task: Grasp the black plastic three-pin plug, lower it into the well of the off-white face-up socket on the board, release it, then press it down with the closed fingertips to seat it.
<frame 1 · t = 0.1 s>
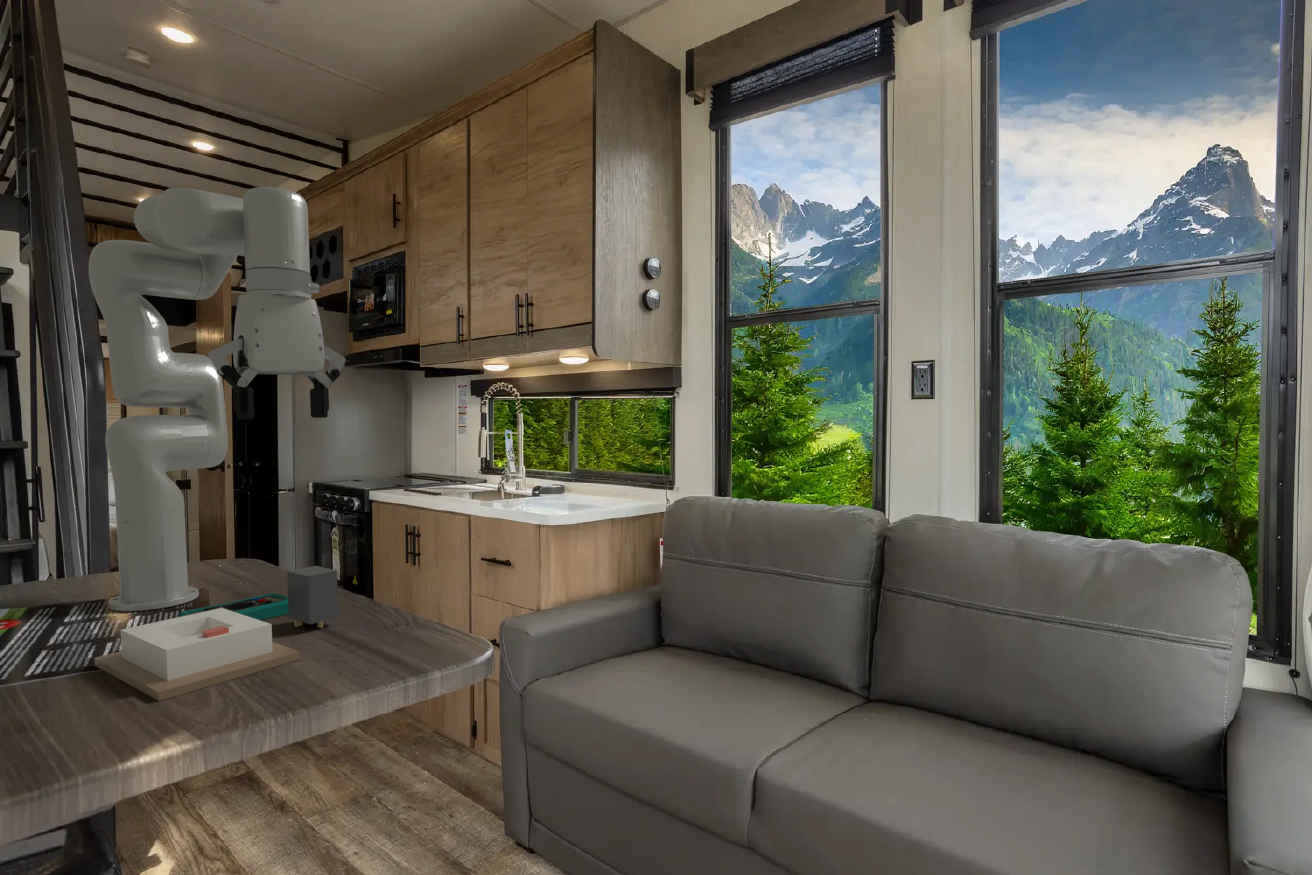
hand: (283, 418, 96), 31 cm above the table, tool pointing down, fingers open, 9 cm apart
digital multimeter: (237, 623, 112), on the table
plug: (313, 625, 109), on the table
socket: (198, 662, 93), on the table
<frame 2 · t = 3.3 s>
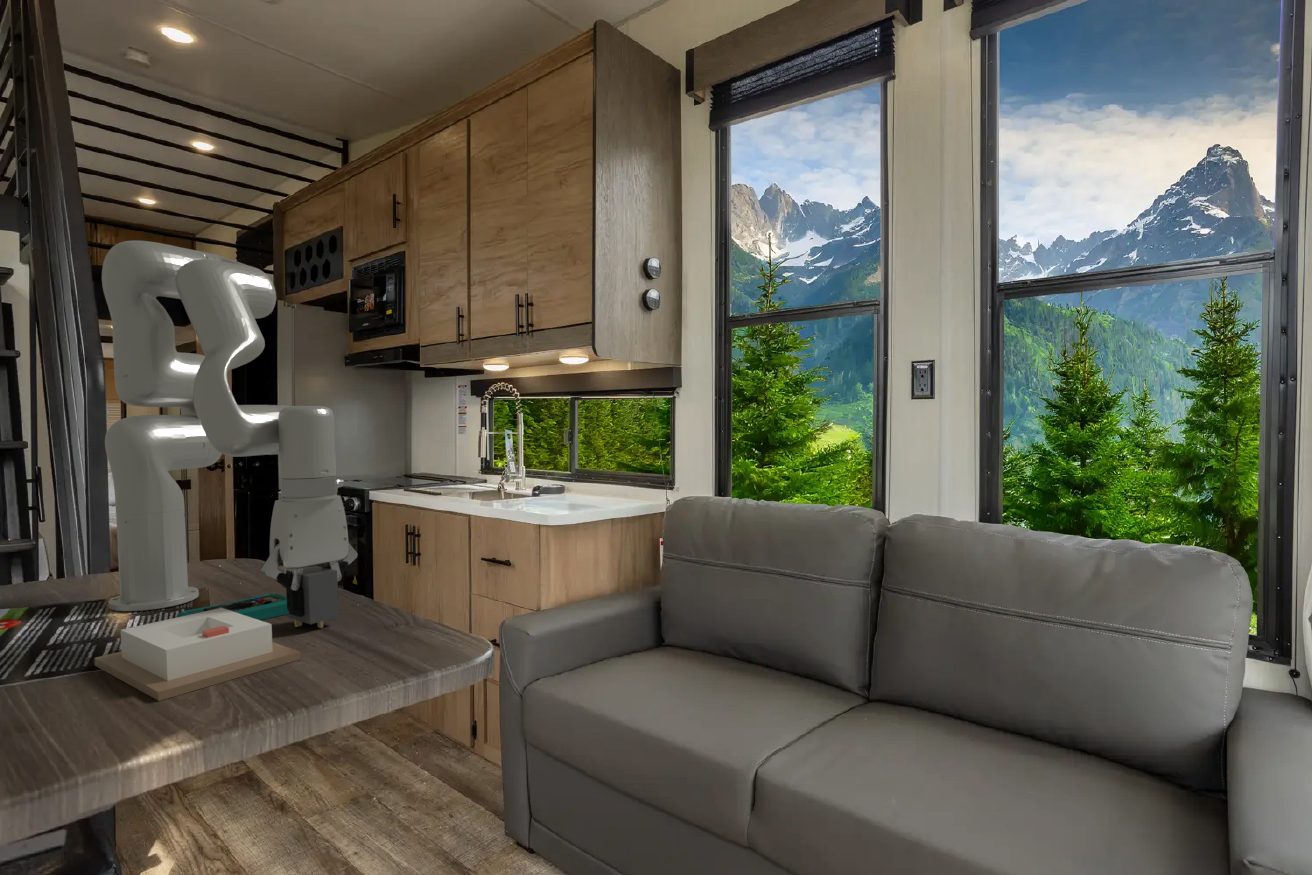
hand: (313, 609, 109), 2 cm above the table, tool pointing down, fingers closed on plug, 4 cm apart
plug: (314, 625, 109), on the table, touching gripper
everything else where it was.
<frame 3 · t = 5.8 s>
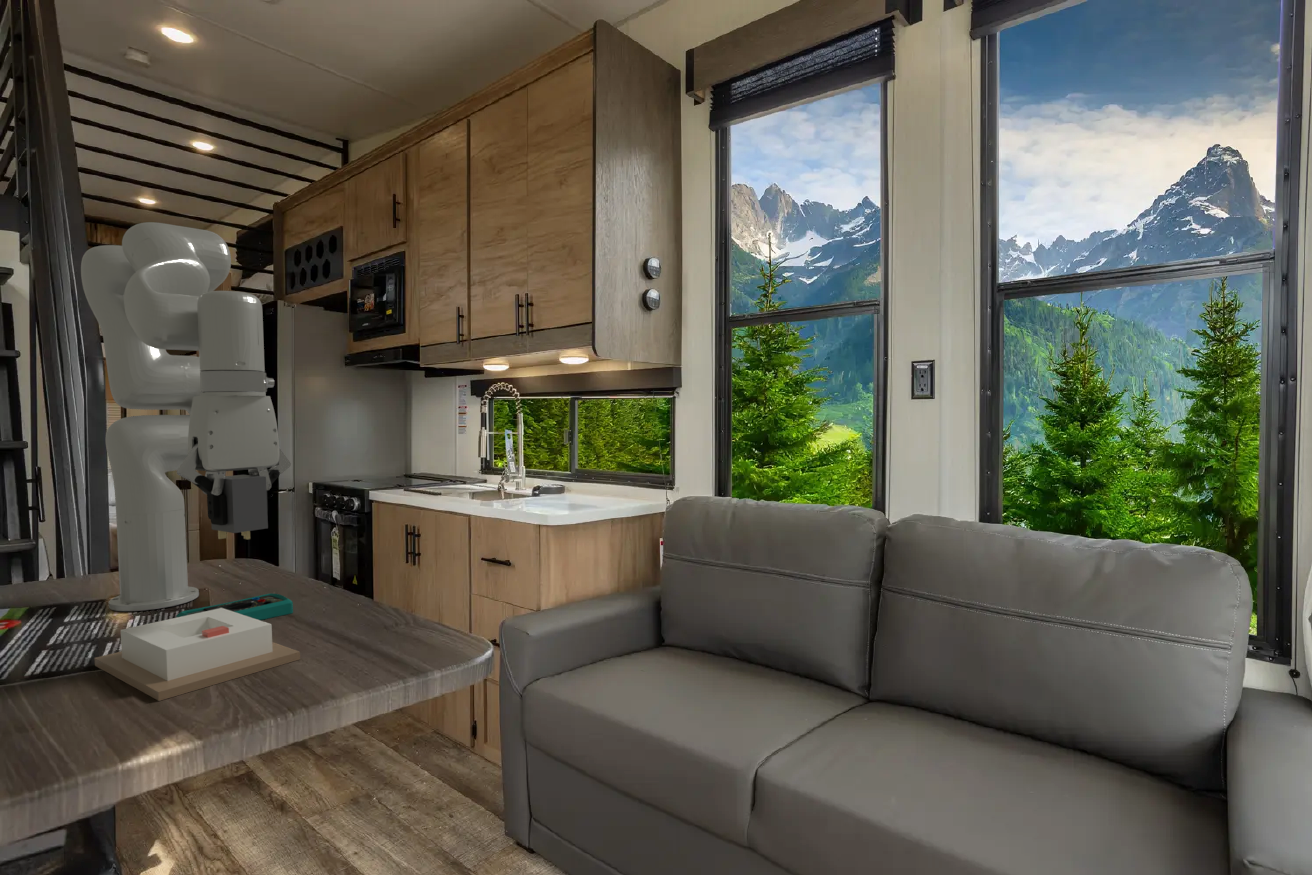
hand: (239, 520, 98), 17 cm above the table, tool pointing down, fingers closed on plug, 4 cm apart
plug: (240, 537, 98), point 15 cm above the table, touching gripper
everything else where it was.
when the fingers open (5 cm above the table, at t = 8.3 s): plug drops 2 cm, resting on socket.
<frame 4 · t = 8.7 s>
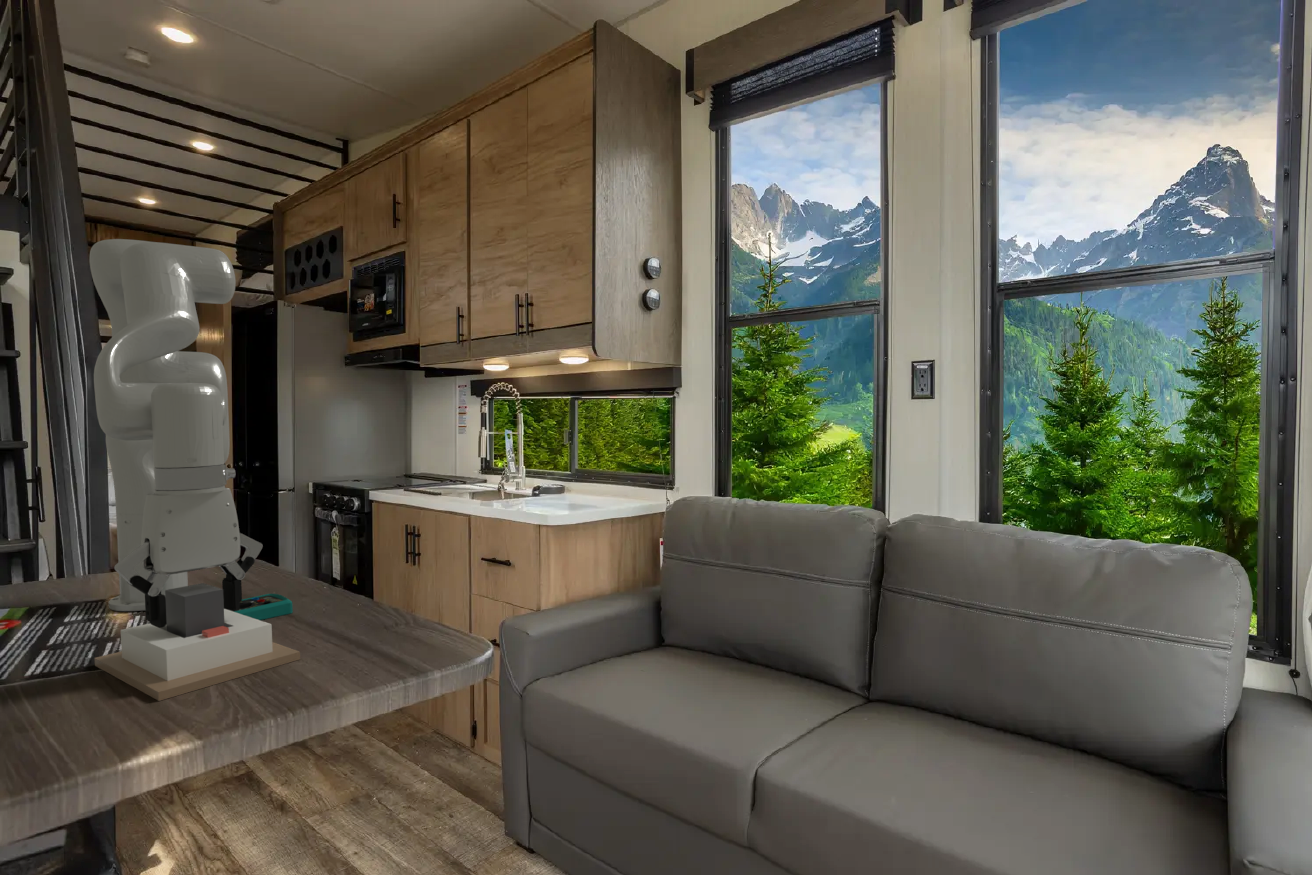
hand: (196, 616, 93), 6 cm above the table, tool pointing down, fingers open, 8 cm apart
plug: (196, 653, 93), point 1 cm above the table, touching socket
everything else where it was.
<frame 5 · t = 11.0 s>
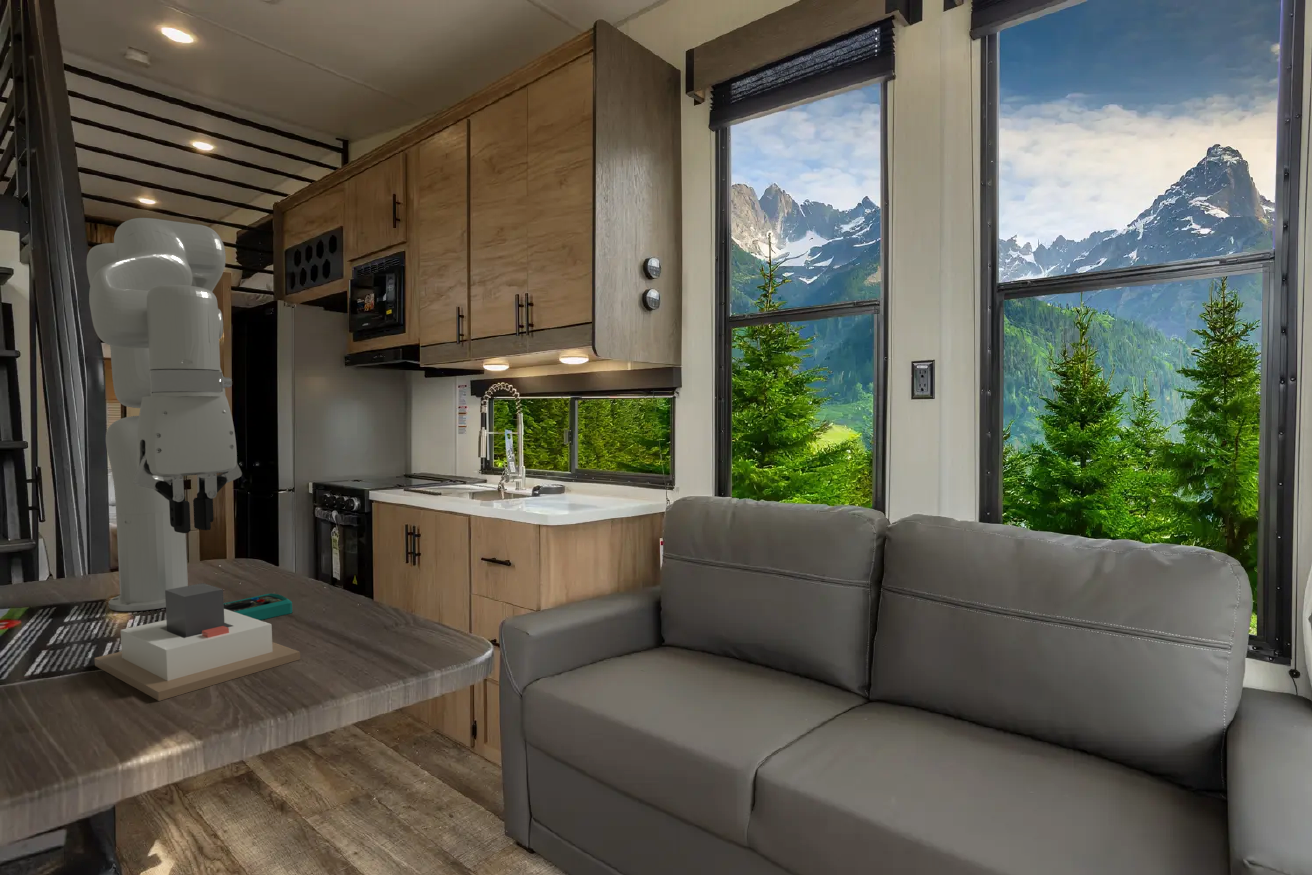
hand: (192, 529, 93), 17 cm above the table, tool pointing down, fingers closed
nothing on the table moved.
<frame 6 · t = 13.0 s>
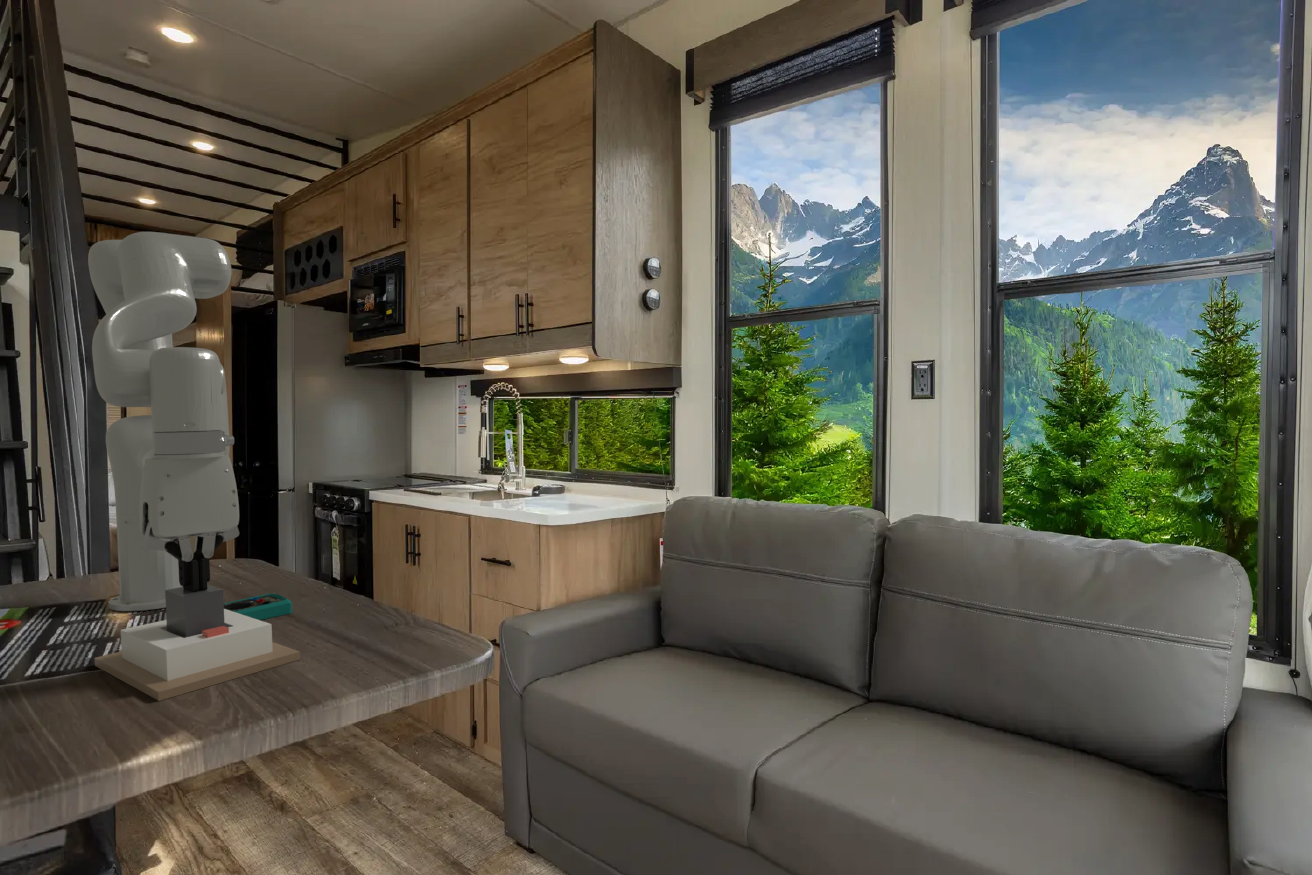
hand: (195, 589, 93), 9 cm above the table, tool pointing down, fingers closed
plug: (196, 653, 93), point 1 cm above the table, touching gripper, socket
everything else where it was.
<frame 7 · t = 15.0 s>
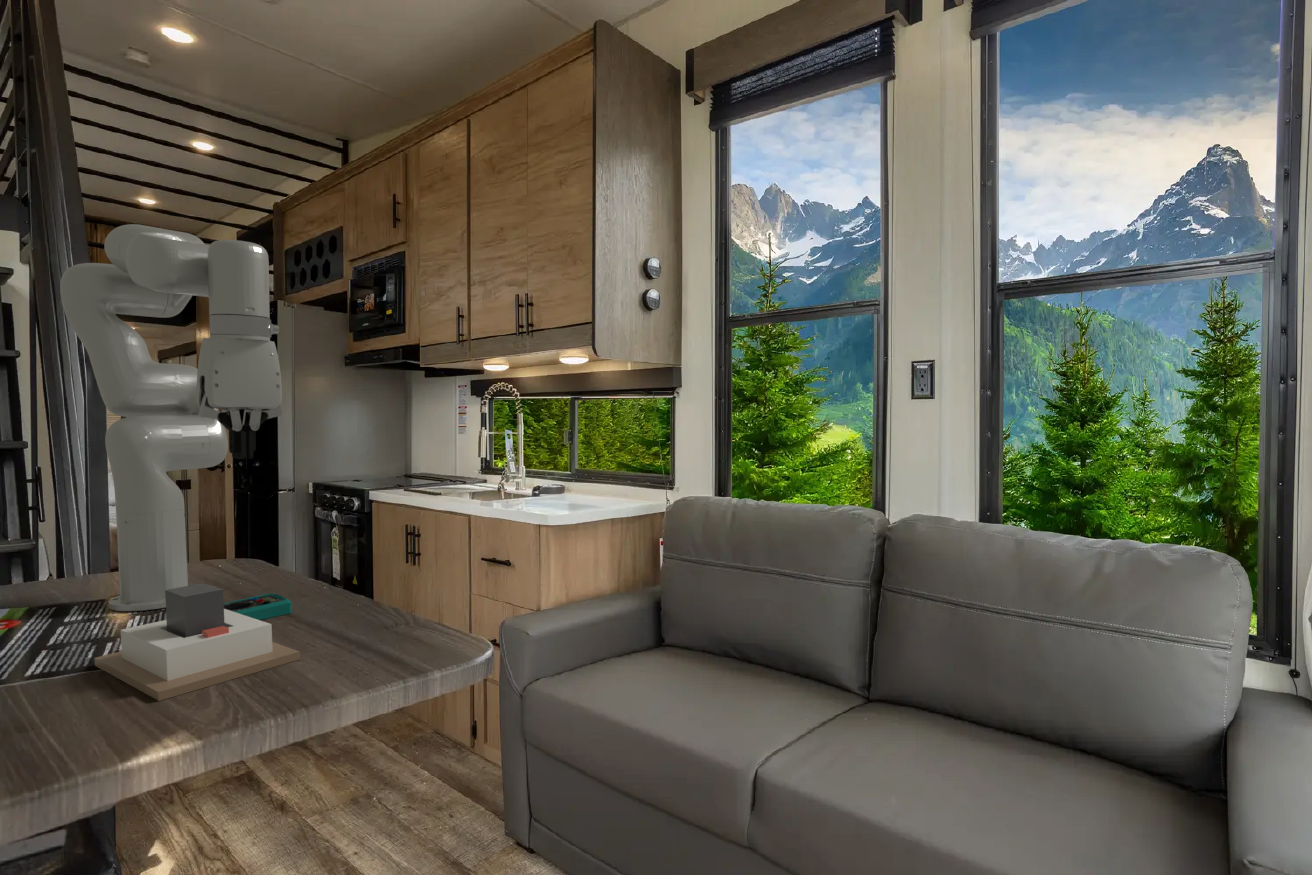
hand: (242, 457, 105), 25 cm above the table, tool pointing down, fingers closed
plug: (196, 653, 93), point 1 cm above the table, touching socket
everything else where it was.
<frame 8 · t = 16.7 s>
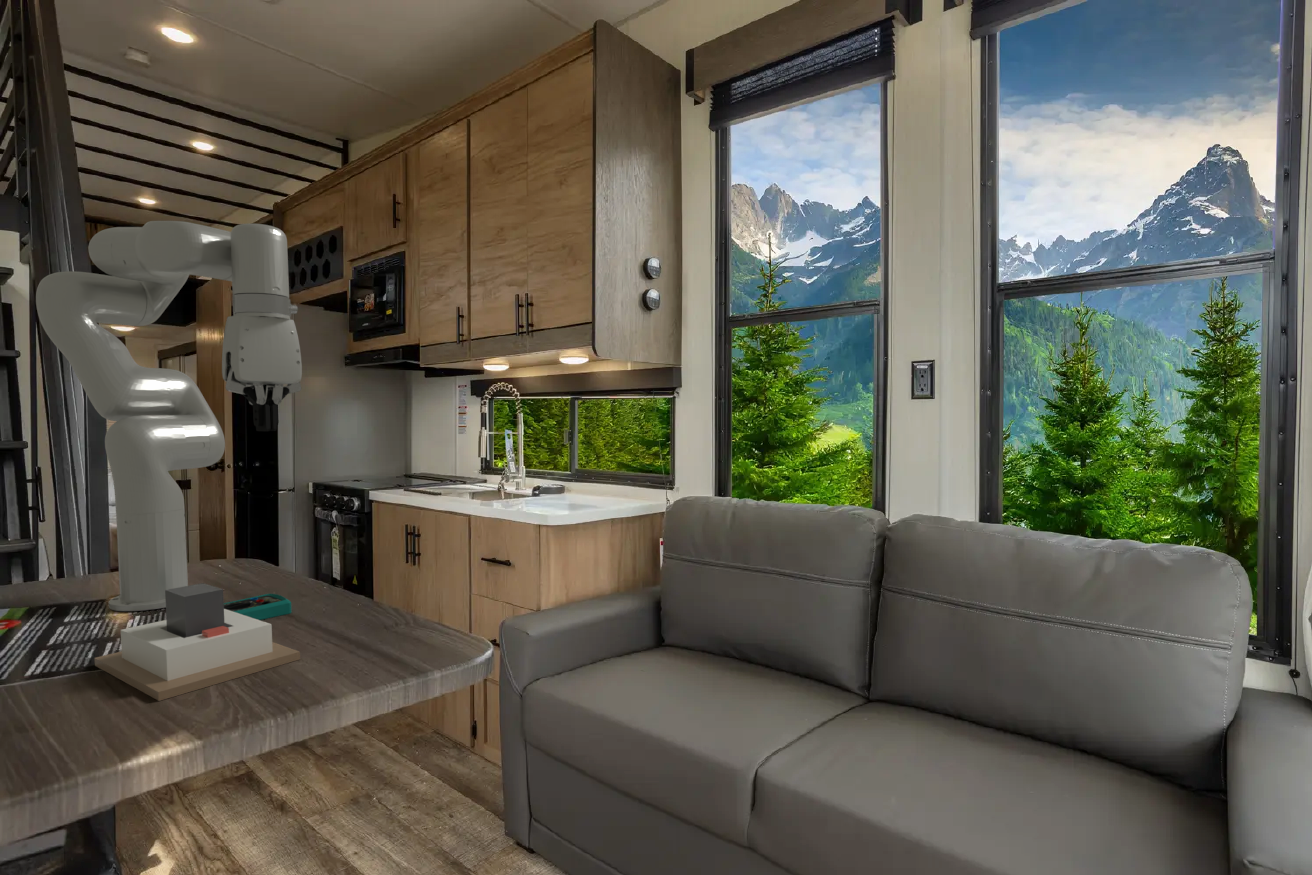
hand: (266, 430, 111), 29 cm above the table, tool pointing down, fingers closed
nothing on the table moved.
at the end: plug 0.1 cm off-centre on the socket, point 1.2 cm above the socket's base; plug tilted 0°; the gripper is holding nothing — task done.
